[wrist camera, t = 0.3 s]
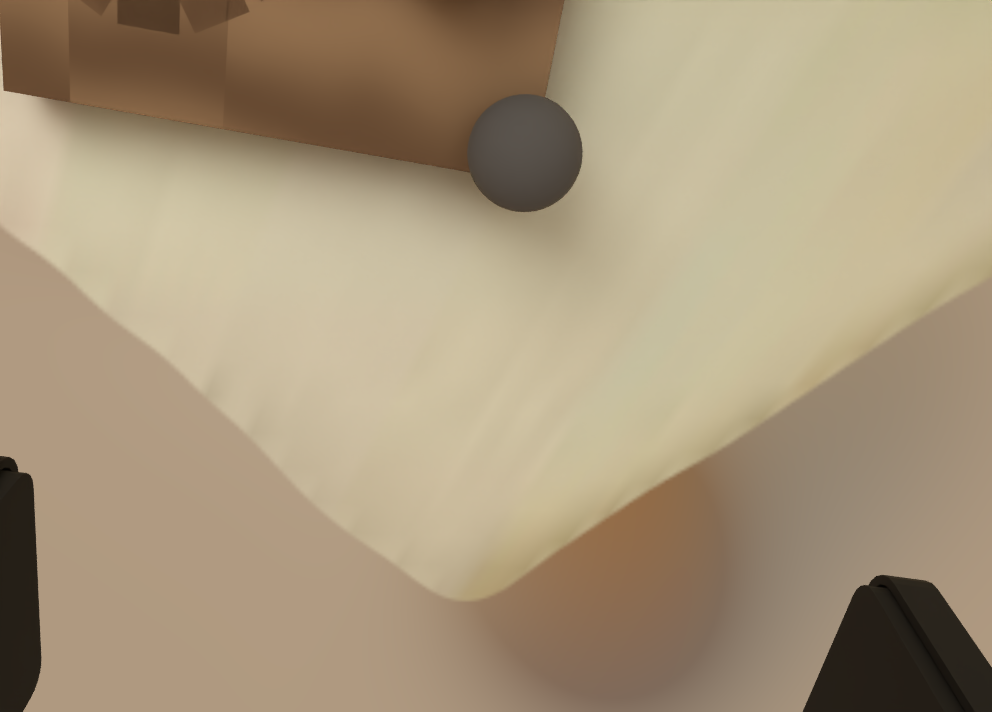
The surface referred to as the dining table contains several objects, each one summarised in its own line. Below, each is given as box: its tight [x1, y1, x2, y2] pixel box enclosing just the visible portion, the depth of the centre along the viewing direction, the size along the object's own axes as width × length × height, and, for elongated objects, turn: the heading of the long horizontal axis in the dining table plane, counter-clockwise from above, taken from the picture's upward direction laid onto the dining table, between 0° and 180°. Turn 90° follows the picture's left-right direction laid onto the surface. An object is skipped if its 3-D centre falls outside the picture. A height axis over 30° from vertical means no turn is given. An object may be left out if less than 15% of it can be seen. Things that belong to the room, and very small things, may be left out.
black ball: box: [467, 94, 582, 212], centre depth 32 cm, size 4×4×4 cm
